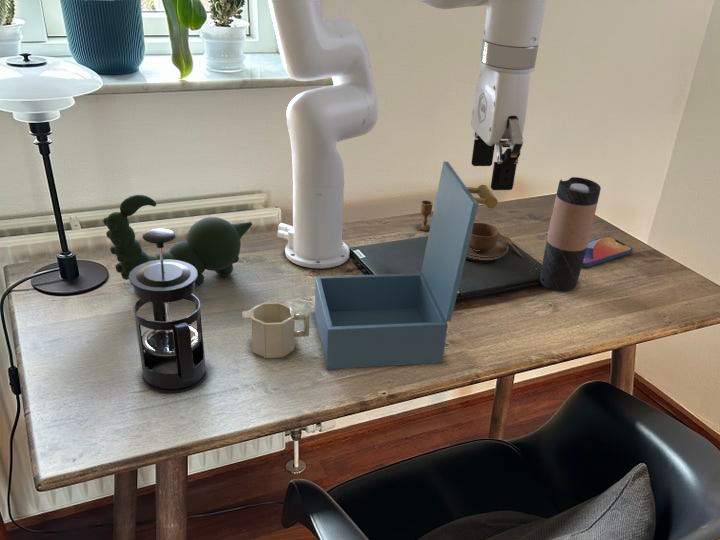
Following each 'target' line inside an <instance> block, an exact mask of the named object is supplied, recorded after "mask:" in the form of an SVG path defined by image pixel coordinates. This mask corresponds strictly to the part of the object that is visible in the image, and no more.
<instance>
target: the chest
mask: <svg viewBox="0 0 720 540" xmlns="http://www.w3.org/2000/svg"><path fill="white" fill-rule="evenodd" d="M314 316H315V320H316V326H317V331H318V334H319V339H320V344H321V350H322V352H323V358H324V361H325V362H324V363H325V366H326V367H325V368H326V370H336V369H337V370H338V369H357V368H372V367H373V368H374V367H390V366H392V367H393V366H406V365H407V366H409V365H425V364H429V365H430V364H442V363H444V357H445V356H444V355H445V348H446V340H447V334H448V326H449V324H448V322H446V321H445V318H444V316H443V314H442V312H441V310H440V308H439V306H438V304H437V302H436V300H435V298H434V296H433V294H432V291H431V289H430V287H429V285H428V283H427V281H426V279H425V277H424V275H423V273H422V272H418V273H386V274H385V273H383V274H381V273H380V274H379V273H378V274H354V275H353V274H352V275H351V274H348V275H347V274H346V275H320V276H319V275H316V276H315V278H314Z"/></svg>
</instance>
